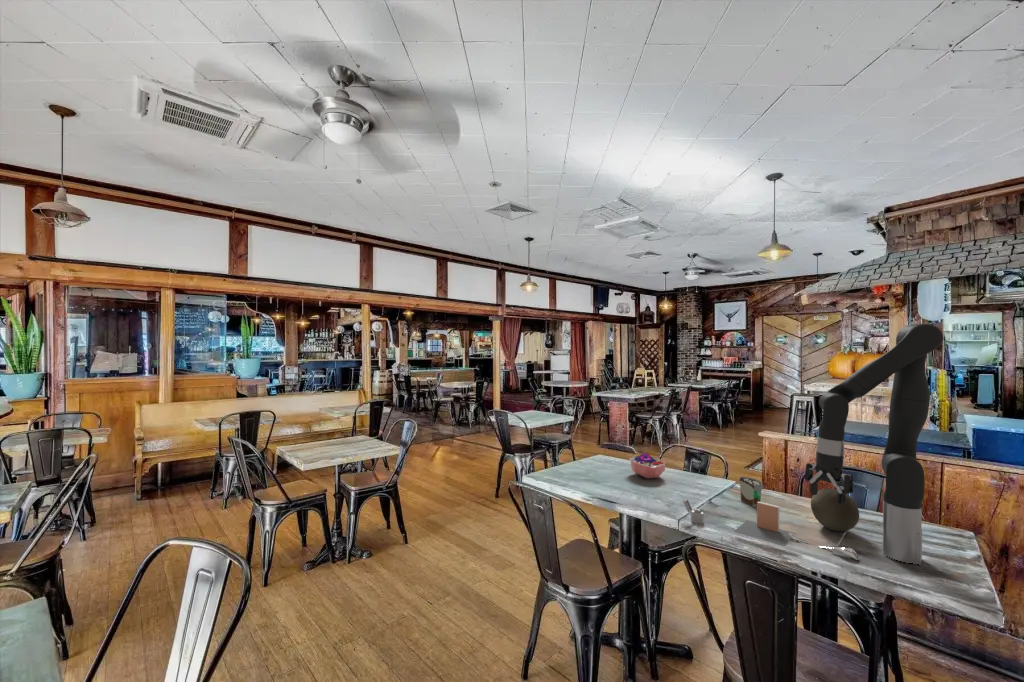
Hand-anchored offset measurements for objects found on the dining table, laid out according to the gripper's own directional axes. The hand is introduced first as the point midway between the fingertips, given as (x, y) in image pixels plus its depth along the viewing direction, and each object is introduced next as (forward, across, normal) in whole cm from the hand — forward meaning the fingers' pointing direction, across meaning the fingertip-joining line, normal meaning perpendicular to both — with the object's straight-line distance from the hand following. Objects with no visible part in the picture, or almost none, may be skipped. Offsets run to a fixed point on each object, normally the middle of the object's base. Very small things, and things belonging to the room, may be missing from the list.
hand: (826, 499), depth 147 cm
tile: (+16, +15, +7) cm, 23 cm away
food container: (+17, +36, -11) cm, 41 cm away
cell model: (+20, +82, +8) cm, 85 cm away
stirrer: (+16, -2, +3) cm, 17 cm away
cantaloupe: (+16, +6, -15) cm, 23 cm away
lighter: (+18, +30, +27) cm, 45 cm away
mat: (+17, +14, +11) cm, 24 cm away
